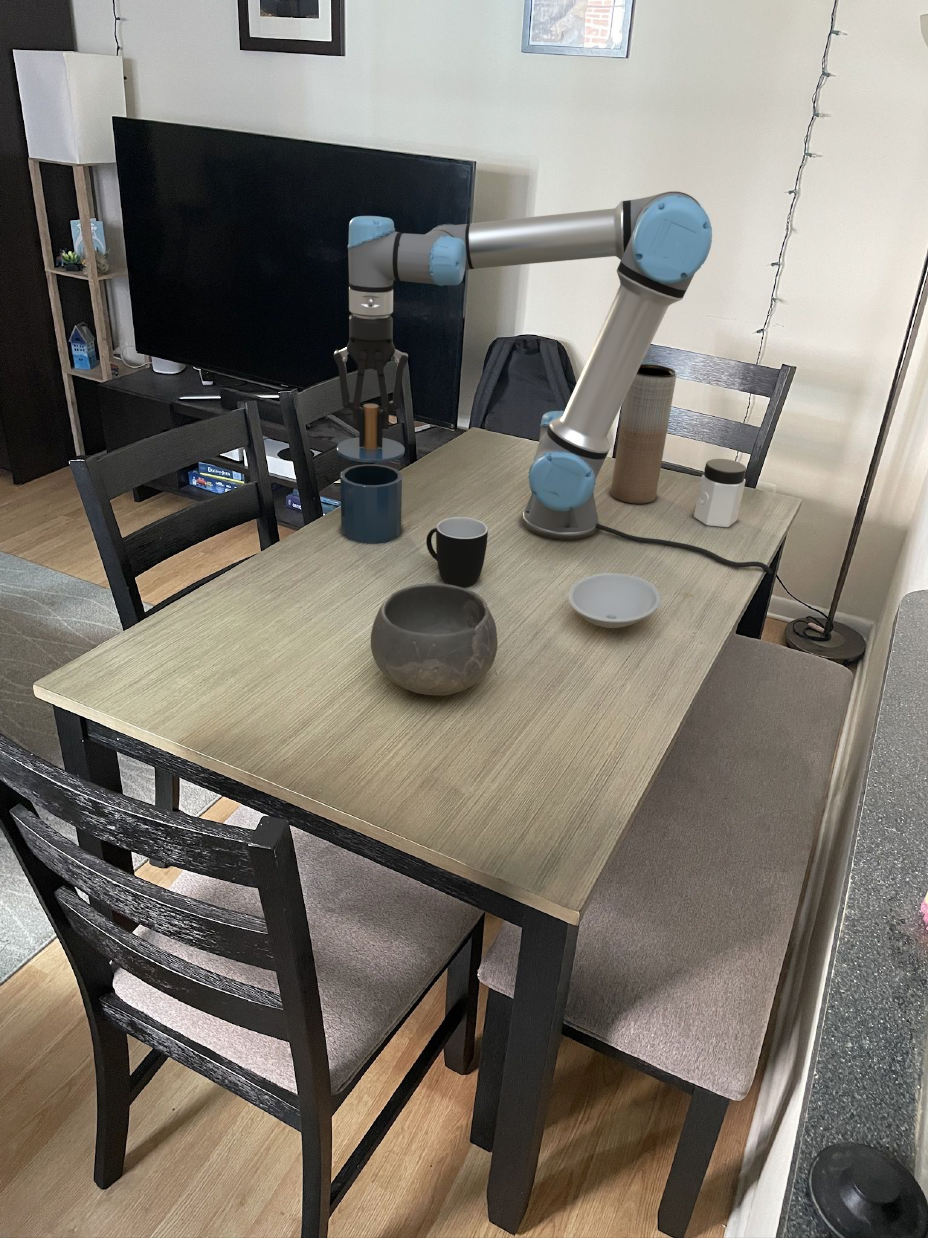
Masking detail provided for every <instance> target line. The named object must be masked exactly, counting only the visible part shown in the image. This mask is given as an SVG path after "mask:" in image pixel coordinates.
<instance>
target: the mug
mask: <svg viewBox="0 0 928 1238" xmlns="http://www.w3.org/2000/svg"><path fill="white" fill-rule="evenodd" d="M434 534H435V548H436V549H434V547H433V543H432V538H433V535H434ZM488 537H489V528H488V526H487V525H486V523H484V522H483V521H481V520H479V519H476V518H471V517H464V516H455V517H448V518H445V519H442V520H440V521H439V522H438V523H437V524H436V527H434V528H432V529H430V531H429V532H428V534H427V535H426V540H425V542H426V544H425V545H426V549H427V551H428V553H429V554H430V557H432V558H433V560H435V561H436V562H437V568H438V573H439V577H440V579H441V580H442V582H443V583H444V584H449V585H454V586H459V587H462V588H468V587H471V586H473V585H475V584H476V583H477V582H478V581H479V578H480V577H481V574H482V571H483V567H484V563H485V558H486V551H487V545H488Z"/></svg>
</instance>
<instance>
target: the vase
mask: <svg viewBox="0 0 928 1238" xmlns="http://www.w3.org/2000/svg"><path fill="white" fill-rule="evenodd" d="M677 375H678V374H677V371H676V370H675V369H673V368H670V367H668V366H664V365H659V364H652V363H651V364H649V363H641V365H640V367H639V369H638V371H637V374H636V376H635V378H634V380H633V382H632V384H631V386H630V388H629V390H628V392H627V395H626V397H625V399H624V401H623V403H622V410H621V417H620V424H619V429H618V430H619V432H618V436H617V437H618V438H617V439H618V440H617V445H616V453H615V459H614V465H613V471H612V472H613V473H612V479H611V487H610V495H611V496H612V497H613V498H614V499H616V500H618V501H620V502H623V503H628V504H633V505H644V504H645V505H646V504H651V503H652V502H654V501H655V500H656V497H657V491H658V485H659V481H660V474H661V469H662V464H663V463H662V462H663V457H664V453H665V452H664V451H665V446H666V445H665V444H666V439H667V433H668V428H669V421H670V416H671V410H672V405H673V400H674V399H673V398H674V393H675V388H676V387H675V386H676V380H677Z"/></svg>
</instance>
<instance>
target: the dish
mask: <svg viewBox="0 0 928 1238" xmlns="http://www.w3.org/2000/svg"><path fill="white" fill-rule="evenodd" d="M567 595H568V596H567V599H568V602H569V605H570V607H571V608H572V609H573V610H574V611H576V612H577V613H578V614H579V615H580V616H581V617H582V618H584V620H586V621H588V622H589V623H591V624H592V625H596V626H598V627H601V628H606V629H607V628H608V629H620V628H625V627H629V626H632V625H634V624H637V623H638V622H640V621H642V620H644V619H645V618H647V617H649V616H651V615H652V614H653V613H655V612H656V611H657V610H658V608H659V606H660V604H661V594H660V591H659V589H658V588H657V587H656V586H654V584H652V583H651V582H650V581H648V580H646V579H644V578H641V577H639V576H635V575H632V574H629V573H628V574H627V573H621V572H620V573H619V572H605V573H604V572H603V573H597V574H592V575H588V576H586V577H583V578H581V579H580V580H578V581H577V582H575V583H574V584H573V585H572V586H571V587H570V589H569V591H568V594H567Z"/></svg>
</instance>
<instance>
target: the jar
mask: <svg viewBox="0 0 928 1238" xmlns="http://www.w3.org/2000/svg"><path fill="white" fill-rule="evenodd" d="M703 471H704V472H703V474H702V475H701V478H700V483H699V488H698V493H697V498H696V503H695V508H694V513H693V517H694V518H695V519H696V520H698V521H700V522H701V523H702V524H704V525H705V526H710V527H719V528H720V527H722V528H730V527H731V526H732V525H733V524H735V523H736V522H737V521H738V516H739V512H740V508H741V505H742V499H743V495H744V491H745V485H746V482H747V481H746V478H745V477H746V473H747V467H746V465H744V464H743V463H741V462H739V461H736V460H733V459H729V458H728V459H726V458H713V459H710V460H707V461H706V463H705V466H704V470H703Z"/></svg>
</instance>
